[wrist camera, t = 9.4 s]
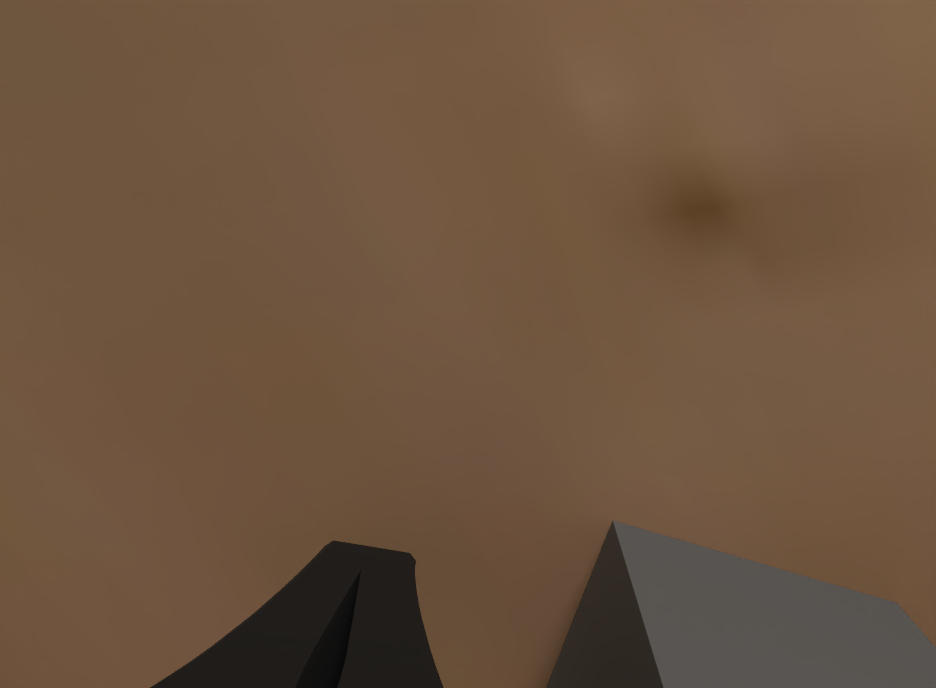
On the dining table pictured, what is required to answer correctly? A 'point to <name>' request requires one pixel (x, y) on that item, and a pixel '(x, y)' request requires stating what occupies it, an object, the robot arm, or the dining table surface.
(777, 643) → the gray rectangular block
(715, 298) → the dining table surface
